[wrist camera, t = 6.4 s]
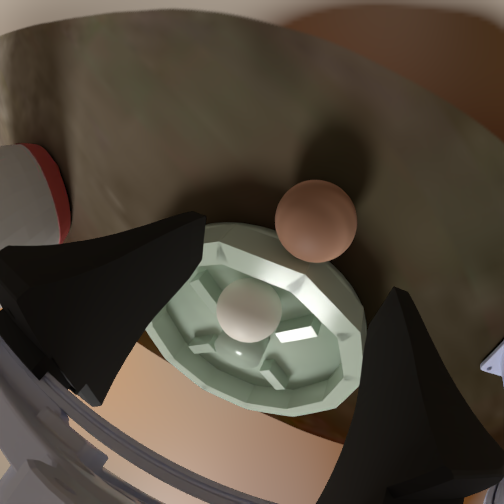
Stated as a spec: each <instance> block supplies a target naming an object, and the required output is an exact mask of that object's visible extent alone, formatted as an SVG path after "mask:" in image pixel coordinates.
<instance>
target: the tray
mask: <svg viewBox="0 0 504 504" xmlns="http://www.w3.org/2000/svg"><path fill="white" fill-rule="evenodd" d="M242 278H256V279H260V280H262V281H265V282H266V283H268V284H269V285H270V286H272V287H273V288H274V289H275V291H276V292H277V294H278V296H279V298H280V301H281V304H282V316H281V320H280V323H279V325H278V326H277V328H276V329H275V331H274V332H273V333H272V334H271V335H270V336H268V337H267V338H265V339H263V340H261V341H258V342H252V343H246V342H240V341H237V340H235V339H233V338H231V337H230V336H229V335H227V334H226V333H225V332H224V330H223V329H222V328H221V326H220V324H219V322H218V319H217V314H216V307H217V301H218V298H219V296H220V294H221V293H222V291H223V290H224V289H225V288H226V287H227V286H228V285H229V284H230V283H232V282H234V281H236V280H238V279H242ZM145 330H146V331H147V333H148V334H149V336H150V337H151V339H152V340H153V342H154V343H155V345H156V346H157V348H158V349H159V350H160V352H161V353H162V355H163V356H164V358H165V359H166V360H167V361H168V362H170V363H171V364H172V365H173V366H174V367H176V368H177V369H178V370H179V371H180V372H182V373H183V374H184V375H186V376H187V377H188V378H189V379H190V380H192V381H193V382H194V383H195V384H197V385H198V386H199V387H201V388H202V389H203V390H205V391H207V392H210V393H212V394H214V395H216V396H218V397H220V398H222V399H225V400H227V401H229V402H231V403H233V404H236V405H238V406H241V407H243V408H245V409H248V410H254V411H259V412H265V413H272V414H278V415H286V416H293V417H294V416H299V415H305V414H310V413H315V412H320V411H325V410H329V409H334V408H336V407H337V406H339V405H340V404H341V403H342V402H343V401H344V400H345V399H346V398H347V397H348V396H349V395H350V394H351V393H352V392H353V391H354V390H355V389H356V388H357V387H358V386H359V384H360V376H361V368H362V359H363V351H364V345H365V340H366V336H367V324H366V318H365V313H364V307H363V306H362V305H361V302H360V300H359V298H358V296H357V294H356V293H355V291H354V289H353V287H352V286H351V285H350V283H349V282H348V281H347V279H346V278H345V277H344V276H343V274H342V273H341V272H340V271H339V270H338V269H337V268H336V267H335V266H334V265H333V264H332V263H331V262H329V261H326V262H321V263H313V262H307V261H303V260H301V259H298V258H297V257H295V256H293V255H292V254H291V253H290V252H288V251H287V250H286V249H285V247H284V246H283V245H282V243H281V242H280V240H279V237H278V235H277V232H276V231H275V230H272V229H269V228H265V227H262V226H258V225H252V224H246V223H236V222H221V223H211V224H206V225H205V235H204V246H203V257H202V261H201V262H200V264H199V265H198V267H197V268H196V270H195V271H194V272H193V274H192V275H191V277H190V278H189V279H188V281H187V282H186V283H185V284H184V285H183V286H182V287H181V288H180V290H179V291H178V292H177V293H176V294H175V295H174V296H173V297H172V298H171V300H170V301H169V302H168V303H167V304H166V305H165V306H164V307H163V308H162V310H161V311H160V312H159V313H158V314H157V315H156V316H155V317H154V319H153V320H152V321H151V322H150V324H149V325H148V326H147V328H146V329H145Z"/></svg>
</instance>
